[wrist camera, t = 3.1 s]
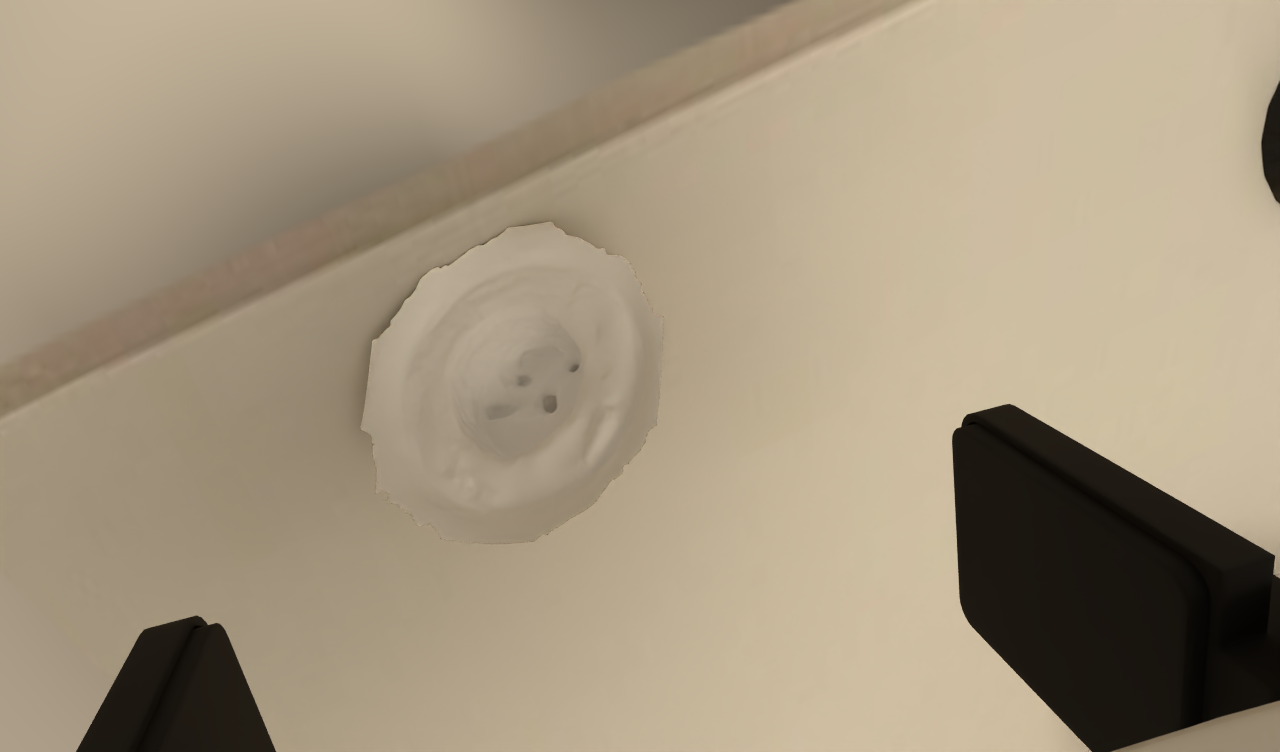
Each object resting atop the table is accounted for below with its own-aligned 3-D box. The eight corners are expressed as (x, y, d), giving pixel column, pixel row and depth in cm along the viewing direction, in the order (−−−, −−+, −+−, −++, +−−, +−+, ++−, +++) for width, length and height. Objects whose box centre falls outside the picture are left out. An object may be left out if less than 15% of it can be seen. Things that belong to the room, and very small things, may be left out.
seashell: (491, 362, 28) (409, 591, 23) (401, 244, 25) (281, 487, 20) (726, 333, 25) (687, 590, 20) (663, 193, 21) (596, 467, 17)
